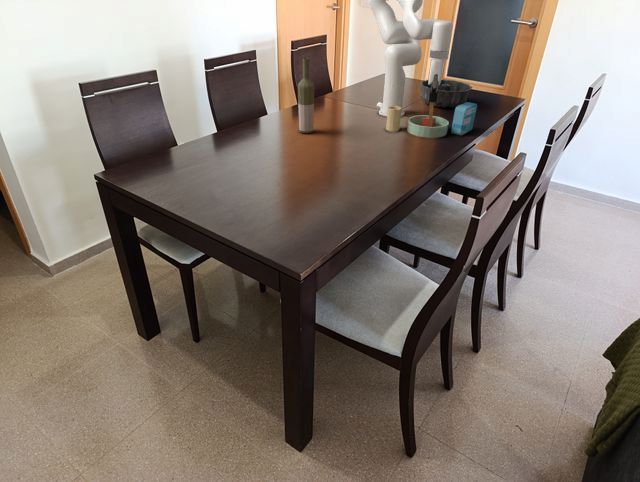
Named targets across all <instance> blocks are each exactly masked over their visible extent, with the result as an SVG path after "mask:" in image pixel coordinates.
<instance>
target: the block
mask: <svg viewBox="0 0 640 482" xmlns="http://www.w3.org/2000/svg"><path fill="white" fill-rule="evenodd" d="M428 121H429V117H426V118H423V126H425V127H428ZM435 121H436V118H433V119H432V127H435Z"/></svg>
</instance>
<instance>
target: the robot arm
mask: <svg viewBox="0 0 640 482" xmlns="http://www.w3.org/2000/svg"><path fill="white" fill-rule="evenodd" d="M423 2H424V0H397V3H399V5H400V7H401V8H402V10H403V13H402V20H398V19H397V17H396V13H395V11H394V10H393V8H392V7H391V5H390V4H389V3H388V2H387V0H368V4H369V7H370V9H371V11H372V13H373V15H374V18H375V20H376V24H377V26H378V30H379V33H380V37H381V39H382V41H383V43H384V44H385V45H389V46H388V47H387V48H386V50H385V52H384V64H385V70H384V71H385V73H384V75H385V76H384V84H383V85H384V87H383V96H382V102H380V101H378V102H377V104H376V107H377V108H380V109H379V110H378V114H379V115H380V116H383V117H387V112H388V107H389V106H398V107H401V108H402V110H401V117H403V116H405V113H406V112H405V111H404V110H403V103H404V94H405V85H406V73H405V70H404V67H407V66H409V67H410V66H414V65H415V66H416V65H417V64H419V63H420V61H421V59H422V57H423V56H422V55H423V54H422V53H423V52H422V47H421V44H420V41H422V40H424V41H425V40H431V42H430V49H429V57H428V59H430V60H431V61H430V66H429V74H428V75H429V76H428V80H429V81H428V85H430V84H431V83H432V85H431V91H430V96H429V102H436V101H437V95H438V91H437V90H438V84H439V85H440V82H441V80H442V78H443V73H444V67H445V62H446V61H447V60H449V55H450V47H451V42H452V34H453V27H454V24H453V22H452V21H450V20H442V19H439V18H421V19H420V18H419V17H418V16H417V15H416V13H417V12H418V11H419V10H420V9H421V7H422V5H423Z"/></svg>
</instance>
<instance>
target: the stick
mask: <svg viewBox="0 0 640 482" xmlns="http://www.w3.org/2000/svg"><path fill="white" fill-rule="evenodd" d="M434 107H435V106H434V102H430V105H429V109H428V115H429V121H428V127H432V119H433V116H434Z"/></svg>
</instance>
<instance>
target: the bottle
mask: <svg viewBox="0 0 640 482" xmlns="http://www.w3.org/2000/svg"><path fill="white" fill-rule="evenodd" d="M297 98H298V99H297V104H298V105H297V106H298V131H299V133H301V134H311V133H313V132H314V129H315V127H314V125H315V124H314V123H315V122H314V119H315V83H314V82H313V81H312V80H311V79H310V58H309V57H303V58H302V78H301V80H300V81H299V82H298V84H297Z"/></svg>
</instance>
